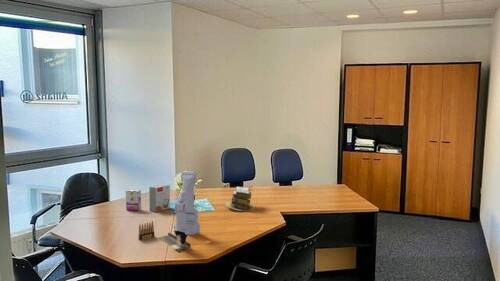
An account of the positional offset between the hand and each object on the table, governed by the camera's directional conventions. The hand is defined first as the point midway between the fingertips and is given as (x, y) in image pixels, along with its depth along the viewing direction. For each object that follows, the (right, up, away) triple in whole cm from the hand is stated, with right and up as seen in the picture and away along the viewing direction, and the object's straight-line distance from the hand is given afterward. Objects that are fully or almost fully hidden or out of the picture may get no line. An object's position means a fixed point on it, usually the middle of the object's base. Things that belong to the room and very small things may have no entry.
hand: (181, 242), depth 256 cm
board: (-6, -2, +6) cm, 9 cm away
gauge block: (0, -1, 0) cm, 1 cm away
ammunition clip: (-25, -2, +12) cm, 28 cm away
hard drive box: (-31, +7, +81) cm, 87 cm away
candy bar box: (-52, +7, +79) cm, 95 cm away
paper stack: (+34, +7, +87) cm, 94 cm away
